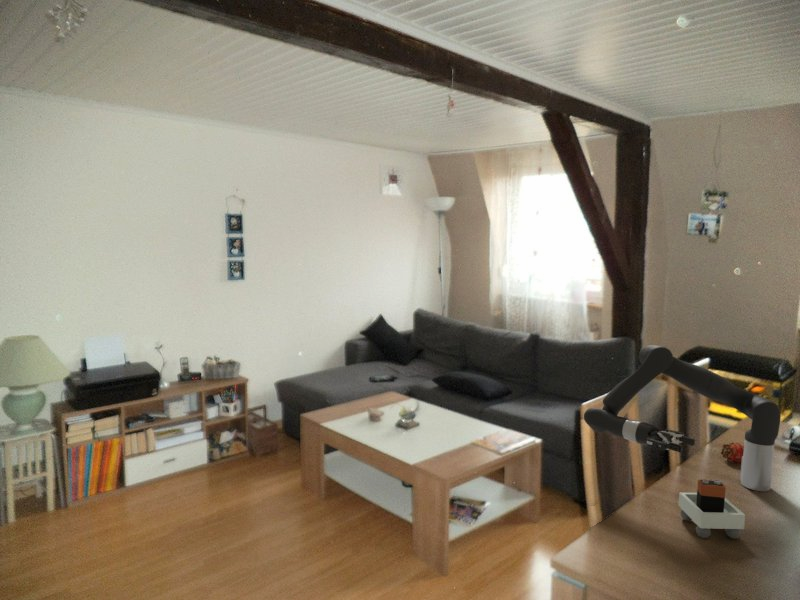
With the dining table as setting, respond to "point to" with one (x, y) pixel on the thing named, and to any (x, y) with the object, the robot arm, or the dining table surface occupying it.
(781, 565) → the dining table surface
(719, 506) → the battery
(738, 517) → the cart
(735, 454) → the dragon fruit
